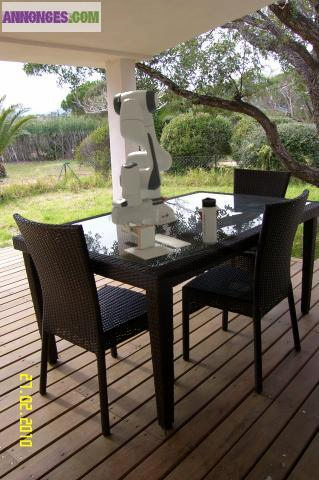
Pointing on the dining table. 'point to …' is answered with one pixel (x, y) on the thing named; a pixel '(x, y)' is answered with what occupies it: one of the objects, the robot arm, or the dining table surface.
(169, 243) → the board
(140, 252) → the mat
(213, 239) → the travel mug
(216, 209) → the plastic cup
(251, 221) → the dining table surface
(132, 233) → the beige rectangular bar
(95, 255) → the dining table surface
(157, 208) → the robot arm
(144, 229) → the tile
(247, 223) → the dining table surface
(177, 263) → the dining table surface
